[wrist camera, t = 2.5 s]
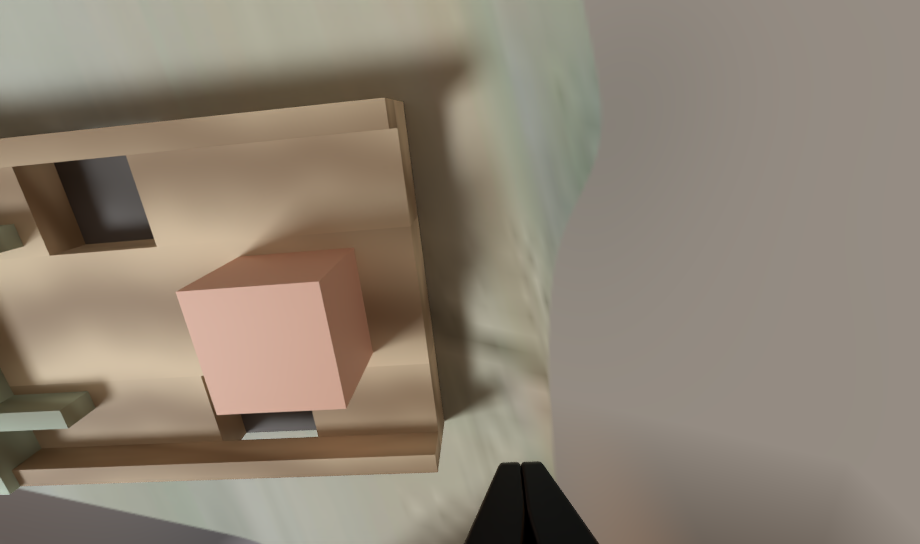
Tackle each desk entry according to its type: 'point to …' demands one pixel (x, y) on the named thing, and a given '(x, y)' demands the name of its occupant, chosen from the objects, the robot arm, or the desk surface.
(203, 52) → the desk surface
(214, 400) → the block
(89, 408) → the board
